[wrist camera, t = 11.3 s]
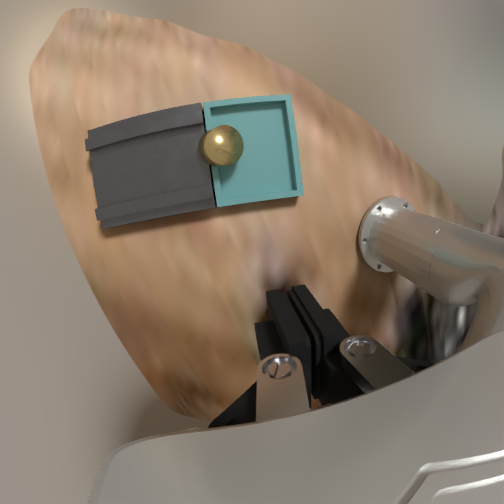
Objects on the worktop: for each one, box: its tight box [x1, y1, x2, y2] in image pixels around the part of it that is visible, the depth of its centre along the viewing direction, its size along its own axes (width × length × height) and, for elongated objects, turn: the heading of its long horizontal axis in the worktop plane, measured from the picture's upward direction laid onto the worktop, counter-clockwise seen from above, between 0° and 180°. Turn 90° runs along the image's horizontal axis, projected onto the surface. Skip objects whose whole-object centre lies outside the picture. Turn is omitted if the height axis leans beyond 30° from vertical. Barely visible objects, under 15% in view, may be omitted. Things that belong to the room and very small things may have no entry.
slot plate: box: [85, 103, 216, 229], centre depth 32 cm, size 16×14×3 cm
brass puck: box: [198, 125, 244, 167], centre depth 32 cm, size 5×5×2 cm
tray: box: [203, 95, 304, 207], centre depth 34 cm, size 12×14×2 cm
